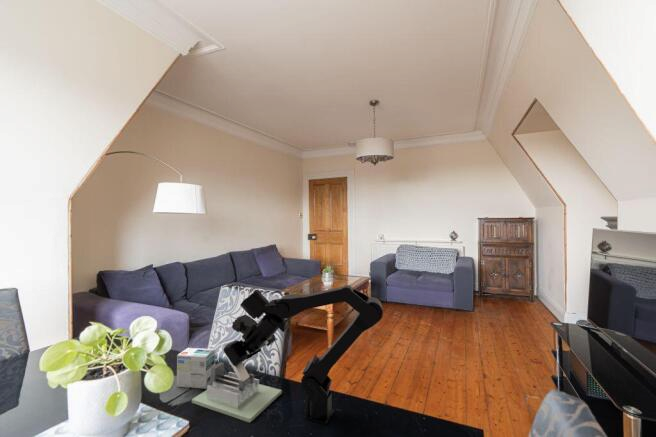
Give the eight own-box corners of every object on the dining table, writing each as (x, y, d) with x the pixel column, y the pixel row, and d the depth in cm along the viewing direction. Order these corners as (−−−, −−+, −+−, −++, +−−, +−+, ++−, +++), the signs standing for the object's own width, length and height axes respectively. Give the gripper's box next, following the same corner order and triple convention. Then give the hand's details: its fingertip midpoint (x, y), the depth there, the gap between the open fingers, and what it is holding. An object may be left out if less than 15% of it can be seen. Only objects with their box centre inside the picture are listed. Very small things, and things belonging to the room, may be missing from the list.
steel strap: (249, 383, 93) (253, 380, 92) (242, 388, 90) (246, 385, 89) (227, 344, 97) (231, 341, 96) (221, 347, 94) (224, 344, 93)
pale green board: (281, 393, 97) (281, 390, 97) (249, 422, 82) (250, 418, 82) (228, 378, 105) (228, 375, 105) (191, 402, 91) (191, 399, 91)
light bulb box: (215, 379, 105) (216, 348, 105) (206, 389, 98) (206, 356, 99) (186, 377, 106) (187, 346, 106) (175, 387, 99) (176, 354, 100)
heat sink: (258, 391, 95) (259, 366, 96) (237, 409, 86) (238, 380, 86) (226, 382, 101) (226, 358, 101) (203, 398, 92) (203, 371, 92)
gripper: (267, 301, 100) (241, 330, 104) (228, 316, 83) (199, 350, 87) (287, 327, 97) (260, 356, 101) (251, 348, 80) (220, 383, 84)
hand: (236, 360), depth 93 cm, fingers closed, pressing on steel strap
